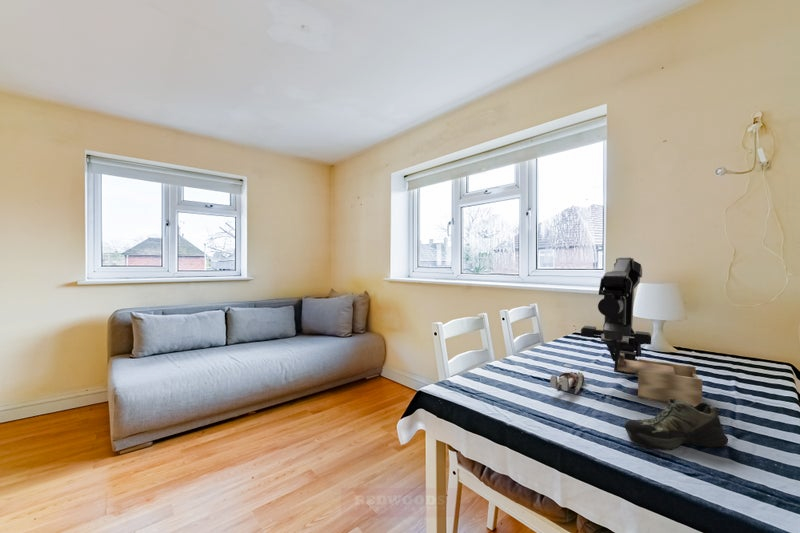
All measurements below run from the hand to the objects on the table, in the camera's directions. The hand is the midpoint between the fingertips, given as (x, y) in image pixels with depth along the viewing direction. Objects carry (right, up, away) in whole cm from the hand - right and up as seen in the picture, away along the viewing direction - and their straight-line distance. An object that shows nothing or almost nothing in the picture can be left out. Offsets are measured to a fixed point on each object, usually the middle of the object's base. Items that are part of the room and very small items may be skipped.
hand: (614, 361), depth 107 cm
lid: (+6, -1, -5) cm, 8 cm away
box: (+11, -8, -8) cm, 16 cm away
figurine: (-16, -8, -3) cm, 18 cm away
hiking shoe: (-8, -9, -33) cm, 35 cm away
